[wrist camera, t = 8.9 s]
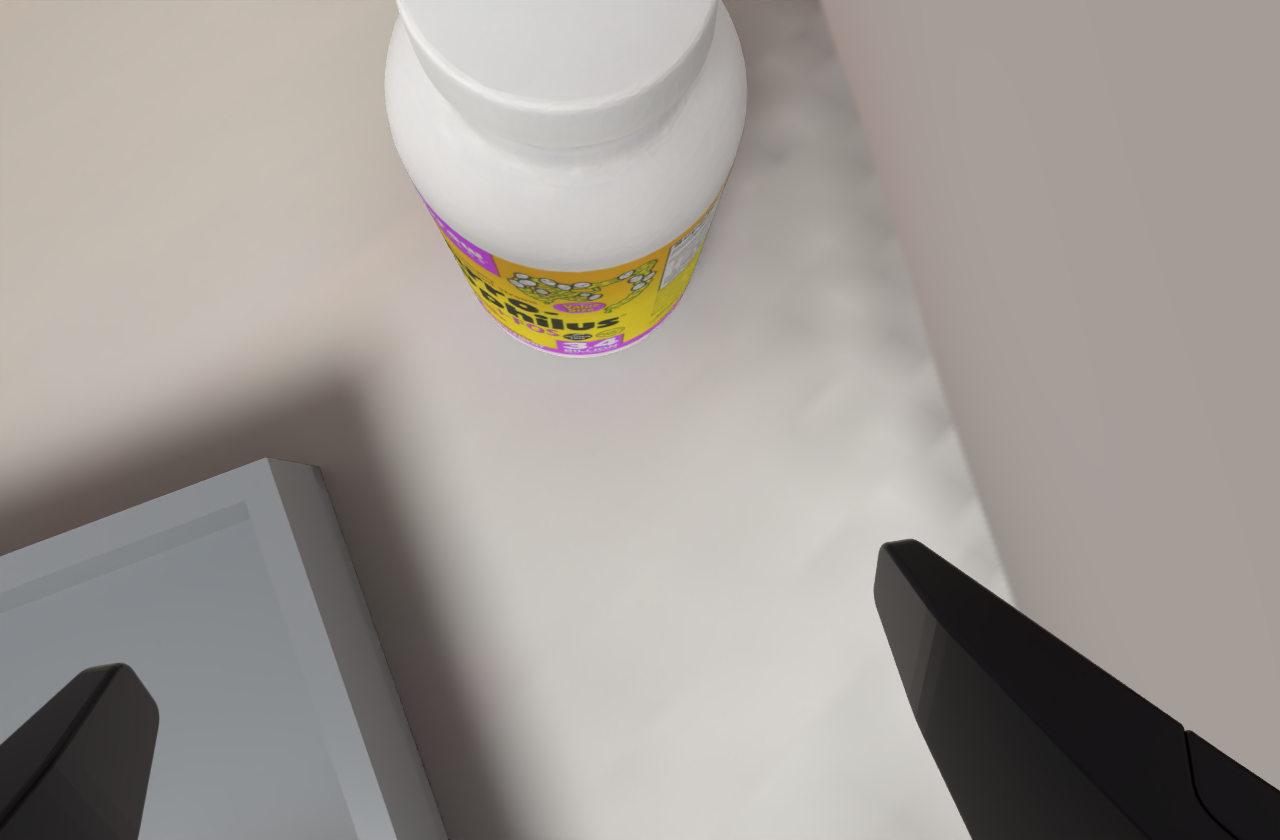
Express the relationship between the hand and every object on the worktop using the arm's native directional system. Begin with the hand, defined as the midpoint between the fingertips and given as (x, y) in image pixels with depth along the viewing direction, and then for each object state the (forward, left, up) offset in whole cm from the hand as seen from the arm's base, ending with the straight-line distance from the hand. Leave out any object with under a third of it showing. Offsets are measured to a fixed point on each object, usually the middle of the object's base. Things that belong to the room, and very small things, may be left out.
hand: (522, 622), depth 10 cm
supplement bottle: (+8, -4, -13) cm, 16 cm away
